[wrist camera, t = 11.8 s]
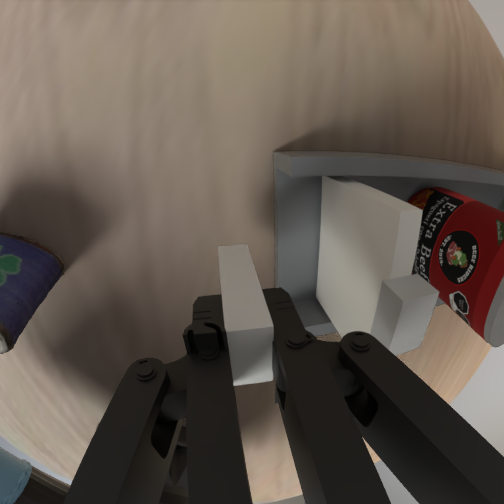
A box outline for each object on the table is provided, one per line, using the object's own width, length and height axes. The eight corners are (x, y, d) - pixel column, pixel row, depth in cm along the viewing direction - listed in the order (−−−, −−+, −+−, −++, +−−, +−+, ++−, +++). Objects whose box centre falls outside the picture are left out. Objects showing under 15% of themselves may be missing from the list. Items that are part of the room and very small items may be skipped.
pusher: (310, 297, 20) (369, 398, 12) (316, 175, 17) (419, 225, 8) (335, 293, 20) (401, 386, 12) (344, 174, 17) (456, 222, 8)
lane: (275, 307, 22) (300, 373, 15) (273, 151, 17) (312, 163, 11) (506, 259, 26) (540, 282, 19) (522, 175, 21) (562, 191, 15)
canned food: (410, 170, 18) (534, 219, 8) (465, 200, 20) (559, 248, 10) (377, 264, 20) (470, 354, 10) (436, 276, 22) (514, 344, 12)
